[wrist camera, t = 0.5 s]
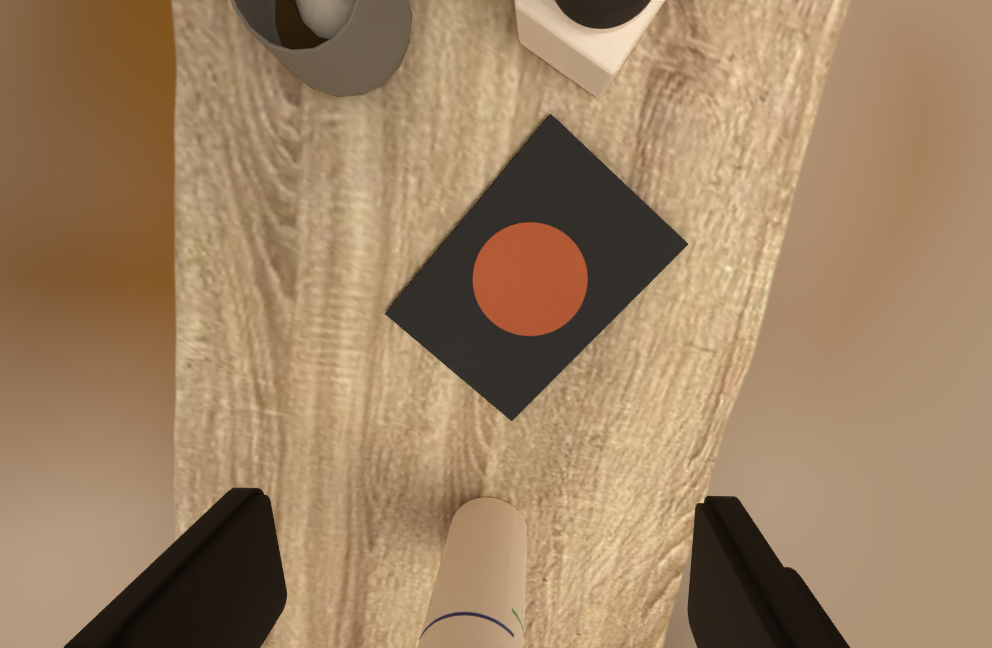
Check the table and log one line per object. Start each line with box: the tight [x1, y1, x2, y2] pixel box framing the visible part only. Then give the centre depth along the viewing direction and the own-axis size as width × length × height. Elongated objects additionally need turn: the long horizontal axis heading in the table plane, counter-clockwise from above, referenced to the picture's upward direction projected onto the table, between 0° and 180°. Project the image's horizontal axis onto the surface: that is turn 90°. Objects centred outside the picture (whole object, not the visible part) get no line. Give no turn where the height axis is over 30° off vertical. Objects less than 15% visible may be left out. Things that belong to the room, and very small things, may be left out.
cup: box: [231, 0, 412, 97], centre depth 30 cm, size 10×9×10 cm
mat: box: [385, 114, 688, 421], centre depth 38 cm, size 20×14×1 cm
